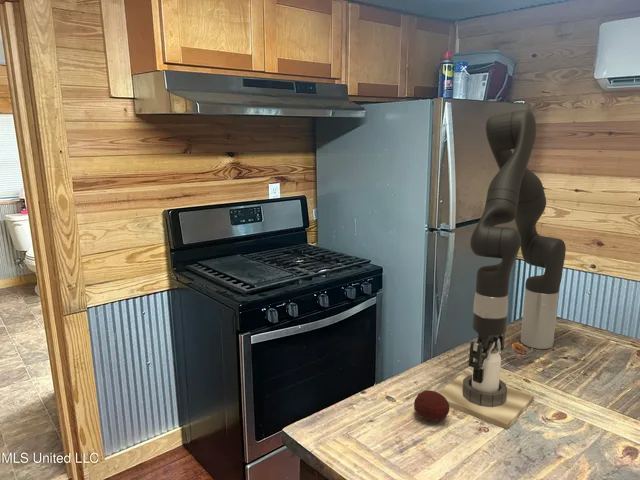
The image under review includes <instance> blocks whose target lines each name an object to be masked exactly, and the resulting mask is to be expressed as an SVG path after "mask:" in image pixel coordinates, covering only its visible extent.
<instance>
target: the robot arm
mask: <svg viewBox="0 0 640 480" xmlns="http://www.w3.org/2000/svg"><path fill="white" fill-rule="evenodd" d="M485 133H486V139H487V142H488V145H489V147H490V151H491V152H492V155H493V157H494V159H495V163H496V164H497V167H498V169H499V170H498V172H497V173H496V174H495V175H494V177H493V178H492V180H491V181H490V183H489V186H488V190H487V193H486V199H485V205H484V209H483V212H482V215H481V216H480V219H479V221H478V223H477V225H476V226H475V227H474V230H473V232H472V234H471V237H470V245H469V246H470V249H471V251H472V253H473V254H474V255H476V256H477V257H483V258H484V257H485V258H494V259H501V262H500V263H498V264H492V265H485V266H481V267H479V268H478V270H477V272H476V283H475V285H476V286H475V294H474V299H473V309H472V310H473V311H472V313H473V314H472V325H471V326H472V330H474V331H475V332H476V333H477V335H478V336H477V338H476V341H470V345H469V346H470V347H469V357H468V367H471V368H472V371H473V381H475V382H477V383H482V382H483V374H484V365H485V362H486V361H487V360H489V357H490V354H491V352H492V351H493V350H494V349H495V348H497V349H498V350H499V354H500V355H501V354H502V351H503V350H505V338H506V337H505V335H506V332H507V325H508V315H509V314H508V313H509V312H508V311H509V285H510V277H511V272H512V269H513V265H514V263H515V260H516V258H517V256H518V253H519V251H521V256H522V258H523V260H524V262H525V263H526V264H527V265H530V266H532V267H538V268H541V269H542V268H543V269H544V272H543V274H541V275H532V276H529V277H528V278H527V277H526V280H525V288H524V297H523V299H524V300H523V308H522V319H521V320H522V321H521V330H520V331H521V332H520V343H522V344H523V345H524V346H527V347H530V348H533V349H537V350H538V349H539V350H546V349H551V348H553V347H554V340H555V334H556V333H555V332H556V331H555V330H556V323H557V322H556V321H557V315H558V314H557V311H558V304H559V303H558V302H559V295H560V294H559V291H560V286H561V282H562V280H563V279H562V277H563V270H564V265H565V259H566V251H567V249H566V247H567V246H566V242H564V240H563V239H561V238H557V237H551V236H546V235H540V234H539V233H538V231H537V227H536V225H537V224H538V223H537V222H538V221H539V220H540V218H541V217H542V216H543V214H544V211H545V209H546V207H547V197H546V193H545V190H544V186H543V185H544V184H543V182H542V181H541V179H540V178H539V176H537V174H535V173H534V172H533V171H532V170H531V169H529V168H528V167H527V166H528V164H529V161H530V158H531V154H532V151H533V148H534V145H535V141H536V135H537V121H536V117H535V115H534V113H533V112H532V111H531V110H530V109H520V110H519V109H518V110H513V111H508V112H502V113H498V114H497V113H496V114H493V115H490V116H489V117H488V119H487V120H486V123H485ZM512 150H513V151H512ZM513 221H514V222H515V225H516V228H514V227H506V226H504V227H503V226H499V225H503V224H509V223H510V222H513ZM482 353H485V354H486V355H482ZM473 358H474V359H473ZM481 360H482V362H481Z"/></svg>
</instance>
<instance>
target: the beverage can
mask: <svg viewBox="0 0 640 480" xmlns="http://www.w3.org/2000/svg"><path fill="white" fill-rule="evenodd" d="M482 355H486V354H485V353H482ZM473 359H474V358H473ZM481 362H482V360H481ZM501 363H502V357H501V354H499V350H498V349H497V348H495V349H494V350H493V351H492V352H491V354H490V357H489V360H487V361H486V362H485V365H484V374H483V382H482V383H477V382H475V381H473V370H472V373H471V374H472V388H473V389H476V390H478V391H481V392H489V393H492V392H498V390H499V379H500V378H501V376H500V375H501V365H502V364H501ZM500 380H501V379H500Z"/></svg>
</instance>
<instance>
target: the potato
mask: <svg viewBox="0 0 640 480" xmlns="http://www.w3.org/2000/svg"><path fill="white" fill-rule="evenodd" d="M438 392H439V391H438ZM438 392H437V391H434V390H430V389H429V390H426V389H425V390H423V391H422V392H420V393H417V395H416V397H415V399H414V403H413V408H414V411H415V412H416V414H417V415H418V416H420V417H421V418H422V419H424V420H428V421H441V420H444V419H445V418H446V417H447V416H448V415H449V412H450V406H449V403H448V401H447V399H446V398H445V397H444V396H442V395H441V394H439V393H438Z"/></svg>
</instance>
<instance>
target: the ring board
mask: <svg viewBox="0 0 640 480" xmlns="http://www.w3.org/2000/svg"><path fill="white" fill-rule="evenodd" d="M438 393H439V394H441V395H442V396H444V397H445V398H446V399H447V401H448V403H449V408H450V407H451V408H453V409H455V410H456V411H457V410H458V411H460V412H463V413H465V414H468V415H470V416H472V417H475V418H478V419H480V420H483V421H485V422H488V423H490V424H493V425H495V426H497V427H499V428H502V429H505V430H508V429H509V428H510V427H511V426H512V425H513V424H514V423H515V421H516V420H517V419H518V418H519V417H520V416H521V415H522V414H523V413H524V411H526V409H527V408H528V407H529V406H530V405H531V404H532V403H533V402H534V399H535V395H533V394H530V393H527V392H525V391H521V390H518V389H515V388H512V387H509V386H507V384H506V382H504V381H503V380H502V379H499V390H498V392H492V393H489V392H481V391H478V390H476V389H473V388H472V373H468V372H465V371H464V372H463V373H461V374H460V375H458V376H457V377H456V378H454V379H453V380H452V381H451V382H449V383H448V384H447V385H446V386H444V387H443V388H442V389H440V391H438Z"/></svg>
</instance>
